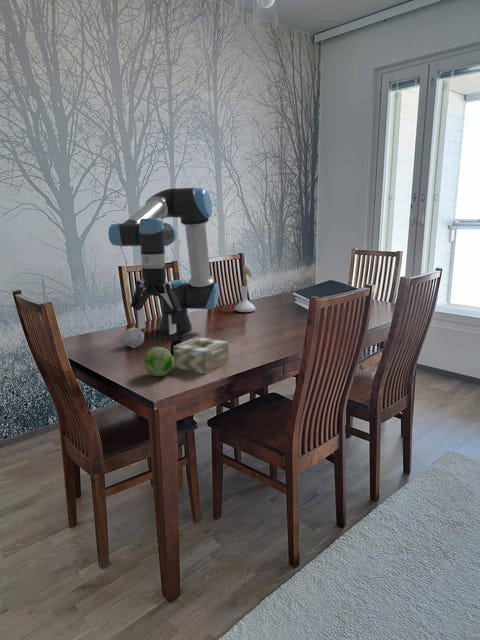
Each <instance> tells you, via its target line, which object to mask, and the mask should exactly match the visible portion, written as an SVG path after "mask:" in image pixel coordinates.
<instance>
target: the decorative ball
mask: <svg viewBox="0 0 480 640" xmlns="http://www.w3.org/2000/svg"><path fill="white" fill-rule="evenodd" d="M143 366H144V367H143V368H144V369H145V370H146V372H147V373H149V374H150V375H151V376H155V377H163V376H166V375H167V374H168V373H170V371H171V370H172V368H173V367H174V356H172V355H171V353H170V351H169V349H167V348H165V347H162V346H161V347H160V346H155V347H152V348H151V349H149V350H148V351H147V352H146V353H145V355H144V359H143Z"/></svg>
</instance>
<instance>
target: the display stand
mask: <svg viewBox="0 0 480 640" xmlns="http://www.w3.org/2000/svg"><path fill="white" fill-rule="evenodd" d="M173 348H174V356H173V362H174V363H173V367H174V368H175V369H180V370H183V371H184V370H185V371H188V370H189V372H193V371H194V372H193V373H198V372H199V373H198V374H202V373H204V374H203V375H207V373H208V374H210V373H212V372H213V370H214V371H215V369H216V370H217V369H219V368H221V367H223V366H225V365H226V363H227V364H229V341H225V340H220V339H213V338H208V337H207V338H206V337H201V336H195V337H193V338H191V339H188V340H186V341H182V343H180V344H178V345H175V346H173ZM224 364H225V365H224ZM222 365H223V366H222ZM220 366H221V367H220ZM211 371H212V372H211ZM209 372H210V373H209Z"/></svg>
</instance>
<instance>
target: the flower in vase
mask: <svg viewBox="0 0 480 640" xmlns="http://www.w3.org/2000/svg"><path fill="white" fill-rule="evenodd" d="M242 269H243V271H244V275H243V279H242V284H243V285H240V287H239V288H241V291H242V300H241V301H239V303H237V305H236V306H234V310H235V311H236V312H239V313H249V312H254V311H256V307H255V305H254V304H253V303H251V302H250V301H249V300H248V290H249V288H250V285H245V284H246V283H247V282H248V280H245V276H246V275H247V276H248V277H249V278H252V277H253V274H252V271H251V270H250V269H249V267H248V266H247V265H242Z"/></svg>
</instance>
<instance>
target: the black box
mask: <svg viewBox="0 0 480 640" xmlns="http://www.w3.org/2000/svg"><path fill="white" fill-rule="evenodd" d="M180 343H183V340H182V339H181V340H179V339H174V340H173V341H171V342H170V351H169V352H170V353H171V355H172V357H174V348H173V346H175V345H178V344H180Z"/></svg>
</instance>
